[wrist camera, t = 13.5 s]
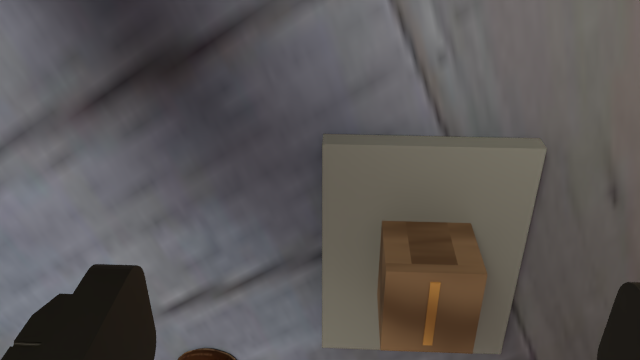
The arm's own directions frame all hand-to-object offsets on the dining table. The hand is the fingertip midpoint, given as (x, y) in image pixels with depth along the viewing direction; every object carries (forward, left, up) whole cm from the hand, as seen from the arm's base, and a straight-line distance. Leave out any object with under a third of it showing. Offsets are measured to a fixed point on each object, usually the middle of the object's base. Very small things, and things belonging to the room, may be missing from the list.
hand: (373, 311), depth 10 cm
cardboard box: (+5, -18, -25) cm, 31 cm away
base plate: (+5, -18, -26) cm, 32 cm away
